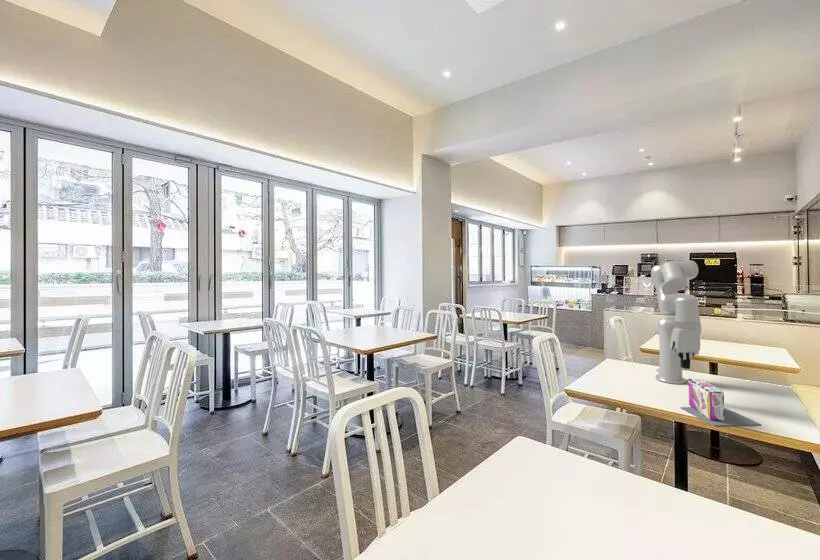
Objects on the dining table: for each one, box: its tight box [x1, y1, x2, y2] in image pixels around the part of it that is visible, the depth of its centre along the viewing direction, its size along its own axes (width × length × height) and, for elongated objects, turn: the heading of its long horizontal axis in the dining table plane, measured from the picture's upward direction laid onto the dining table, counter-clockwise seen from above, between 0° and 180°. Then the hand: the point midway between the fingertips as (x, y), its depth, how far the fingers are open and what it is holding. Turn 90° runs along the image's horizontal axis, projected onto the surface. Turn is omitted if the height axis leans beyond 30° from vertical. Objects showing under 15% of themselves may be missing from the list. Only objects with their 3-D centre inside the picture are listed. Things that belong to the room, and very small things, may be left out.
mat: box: [680, 406, 762, 427], centre depth 145 cm, size 17×17×1 cm
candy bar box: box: [687, 378, 725, 421], centre depth 147 cm, size 11×5×16 cm
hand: (685, 367), depth 162 cm, fingers closed
